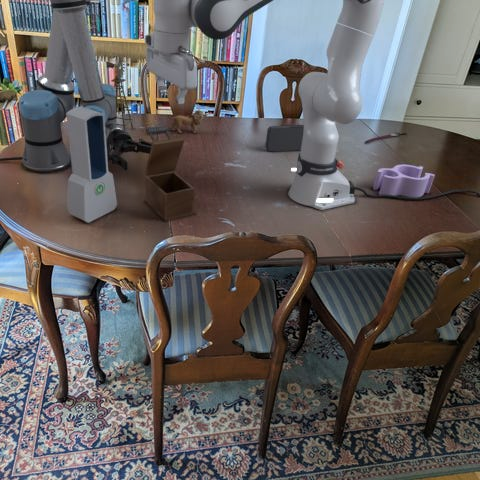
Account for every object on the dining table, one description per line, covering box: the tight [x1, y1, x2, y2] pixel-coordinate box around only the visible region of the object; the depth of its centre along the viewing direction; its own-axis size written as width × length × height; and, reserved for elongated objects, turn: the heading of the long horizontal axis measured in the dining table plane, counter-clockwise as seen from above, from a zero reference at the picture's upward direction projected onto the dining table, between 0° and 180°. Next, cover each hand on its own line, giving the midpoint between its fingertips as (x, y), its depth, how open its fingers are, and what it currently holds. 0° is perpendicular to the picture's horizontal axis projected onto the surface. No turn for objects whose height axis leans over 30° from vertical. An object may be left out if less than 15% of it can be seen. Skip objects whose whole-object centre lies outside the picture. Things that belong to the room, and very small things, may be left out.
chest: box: [145, 171, 196, 222], centre depth 140 cm, size 13×10×9 cm
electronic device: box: [65, 106, 118, 224], centre depth 127 cm, size 12×8×30 cm, turn 148°
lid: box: [144, 124, 185, 177], centre depth 138 cm, size 13×10×9 cm
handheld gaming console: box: [264, 124, 304, 152], centre depth 189 cm, size 23×3×10 cm, turn 108°
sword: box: [365, 132, 406, 144], centre depth 214 cm, size 31×3×1 cm, turn 126°
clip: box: [372, 164, 436, 198], centre depth 166 cm, size 20×12×7 cm, turn 109°
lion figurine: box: [168, 109, 204, 134], centre depth 195 cm, size 15×5×9 cm, turn 110°
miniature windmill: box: [105, 53, 134, 133], centre depth 184 cm, size 9×8×30 cm
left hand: (146, 163), depth 148 cm, fingers open, 13 cm apart
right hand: (170, 98), depth 124 cm, fingers open, 8 cm apart
